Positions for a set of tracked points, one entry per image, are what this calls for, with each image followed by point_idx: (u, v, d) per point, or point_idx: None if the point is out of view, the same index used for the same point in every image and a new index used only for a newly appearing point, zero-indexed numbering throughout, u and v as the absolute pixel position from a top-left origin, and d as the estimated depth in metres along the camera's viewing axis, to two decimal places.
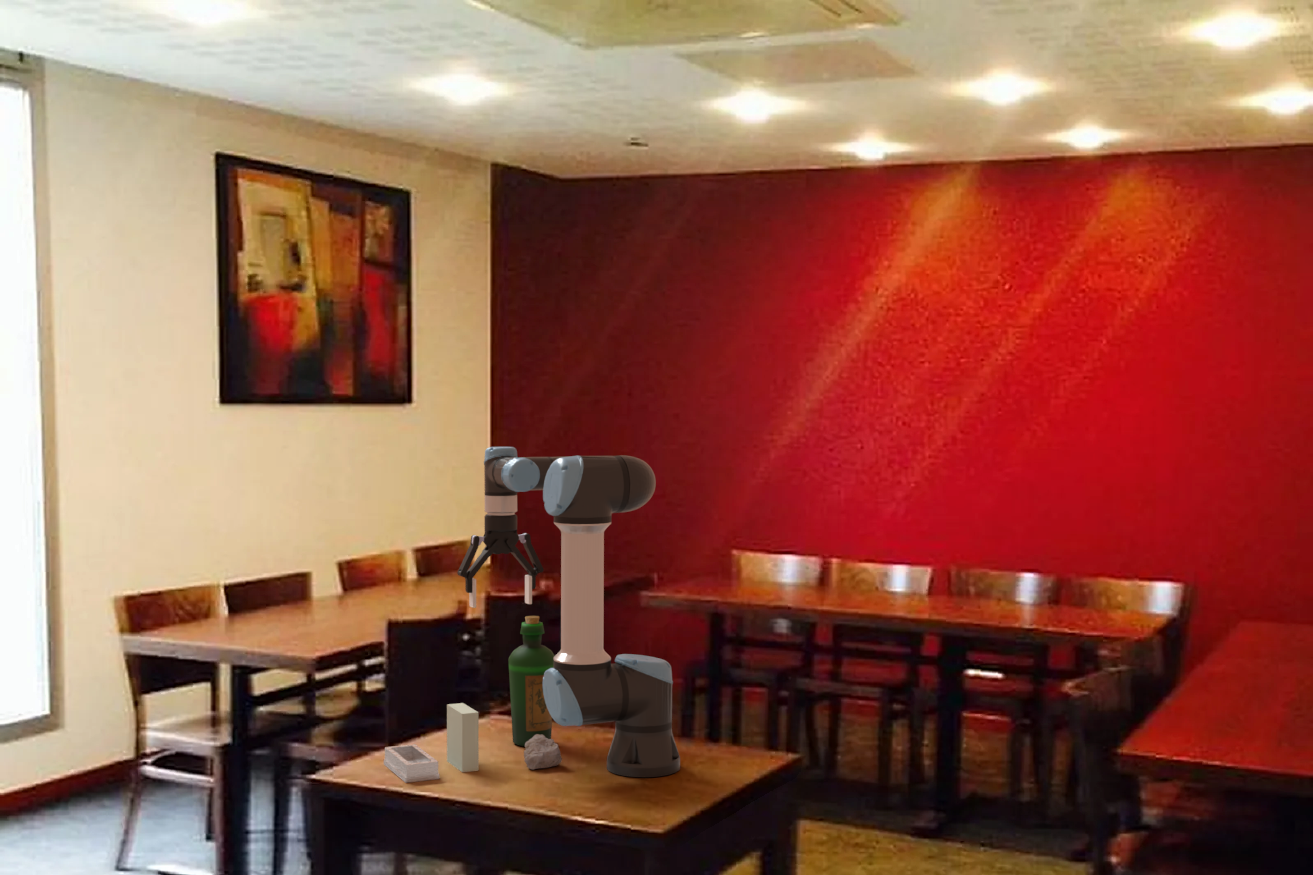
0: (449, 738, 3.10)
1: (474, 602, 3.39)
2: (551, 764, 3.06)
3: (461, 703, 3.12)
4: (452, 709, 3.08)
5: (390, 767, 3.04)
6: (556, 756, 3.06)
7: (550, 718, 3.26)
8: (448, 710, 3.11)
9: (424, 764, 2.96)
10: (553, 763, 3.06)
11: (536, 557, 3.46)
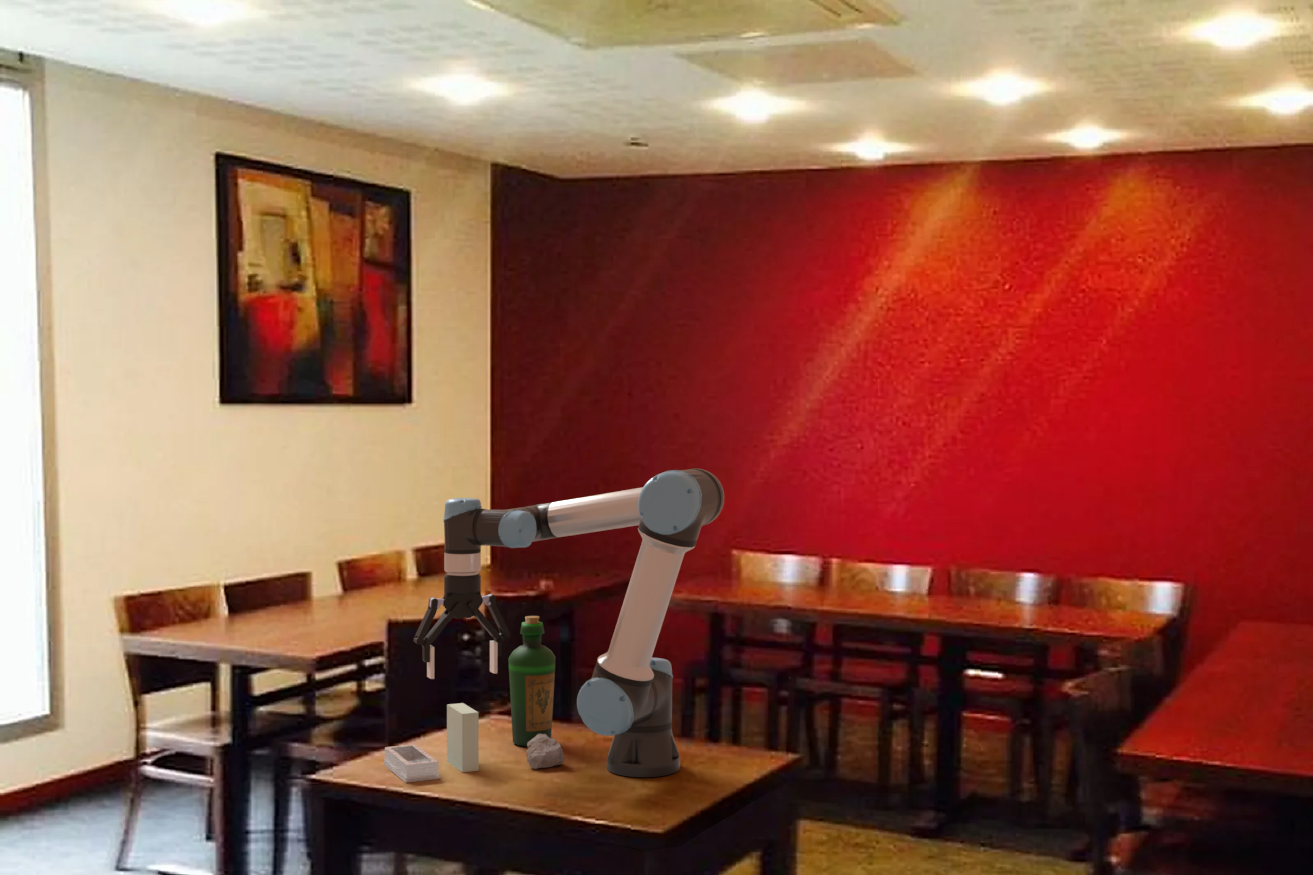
0: (449, 738, 3.10)
1: (432, 673, 3.03)
2: (553, 763, 3.07)
3: (461, 703, 3.12)
4: (452, 709, 3.08)
5: (390, 767, 3.04)
6: (558, 756, 3.06)
7: (550, 718, 3.26)
8: (448, 710, 3.11)
9: (424, 764, 2.96)
10: (555, 762, 3.07)
11: (502, 621, 3.10)
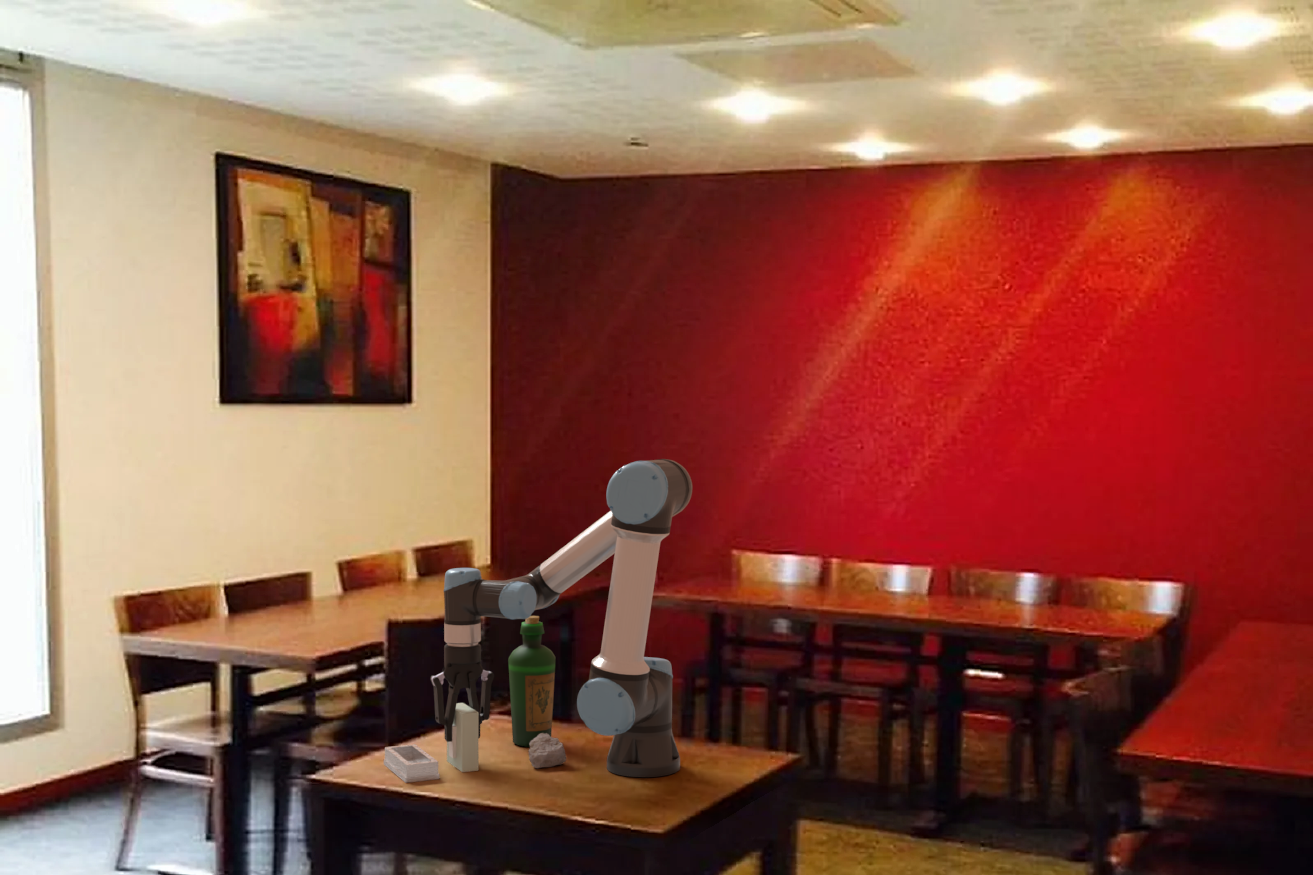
0: None
1: (454, 752, 3.06)
2: (556, 763, 3.07)
3: (461, 703, 3.12)
4: None
5: (390, 767, 3.04)
6: (560, 755, 3.07)
7: (550, 718, 3.26)
8: None
9: (424, 764, 2.96)
10: (558, 762, 3.07)
11: (488, 701, 3.09)
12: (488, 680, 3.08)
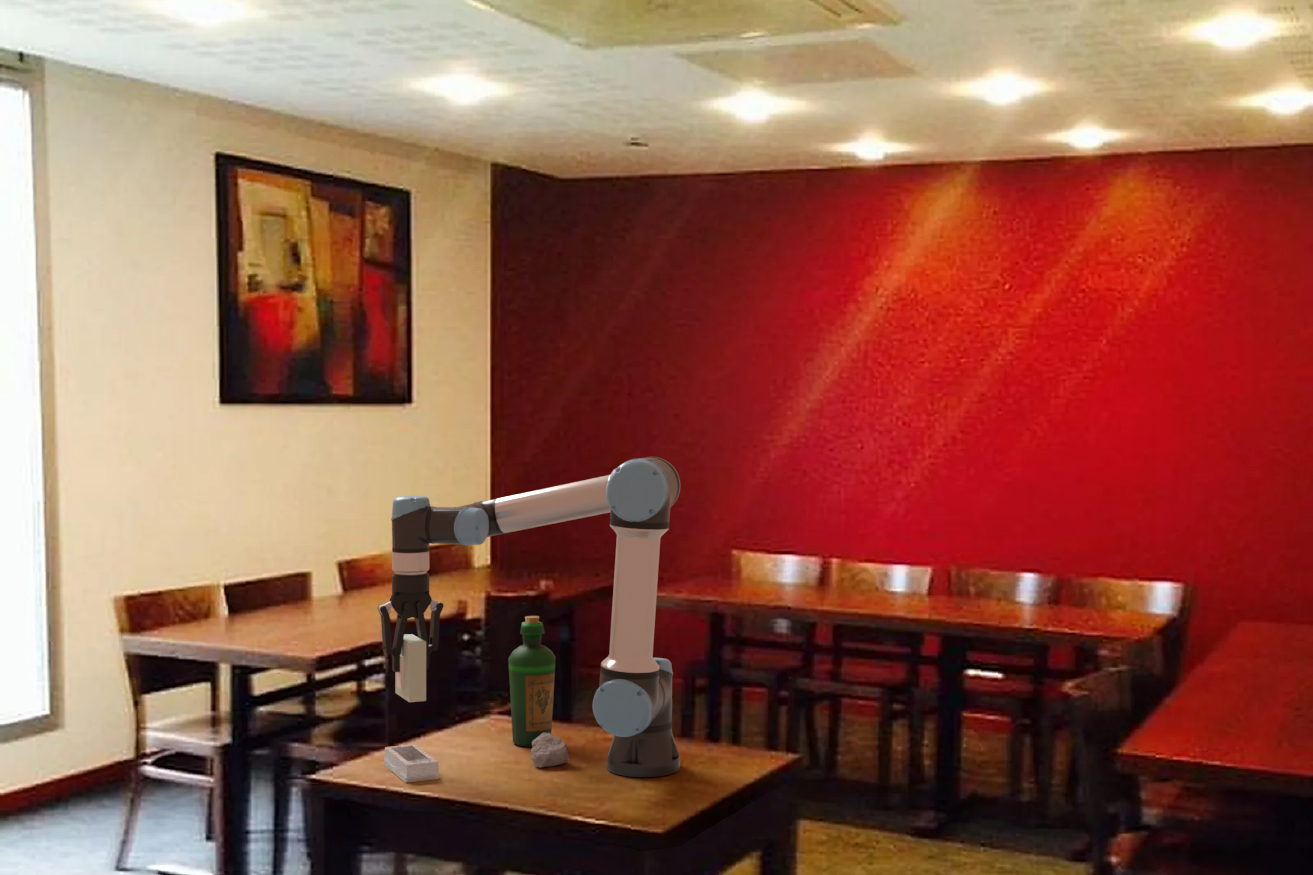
0: None
1: (402, 683, 3.00)
2: (558, 762, 3.08)
3: (410, 634, 3.07)
4: None
5: (390, 767, 3.04)
6: (563, 755, 3.07)
7: (550, 718, 3.26)
8: None
9: (424, 764, 2.96)
10: (560, 761, 3.08)
11: (437, 632, 3.03)
12: (437, 610, 3.03)
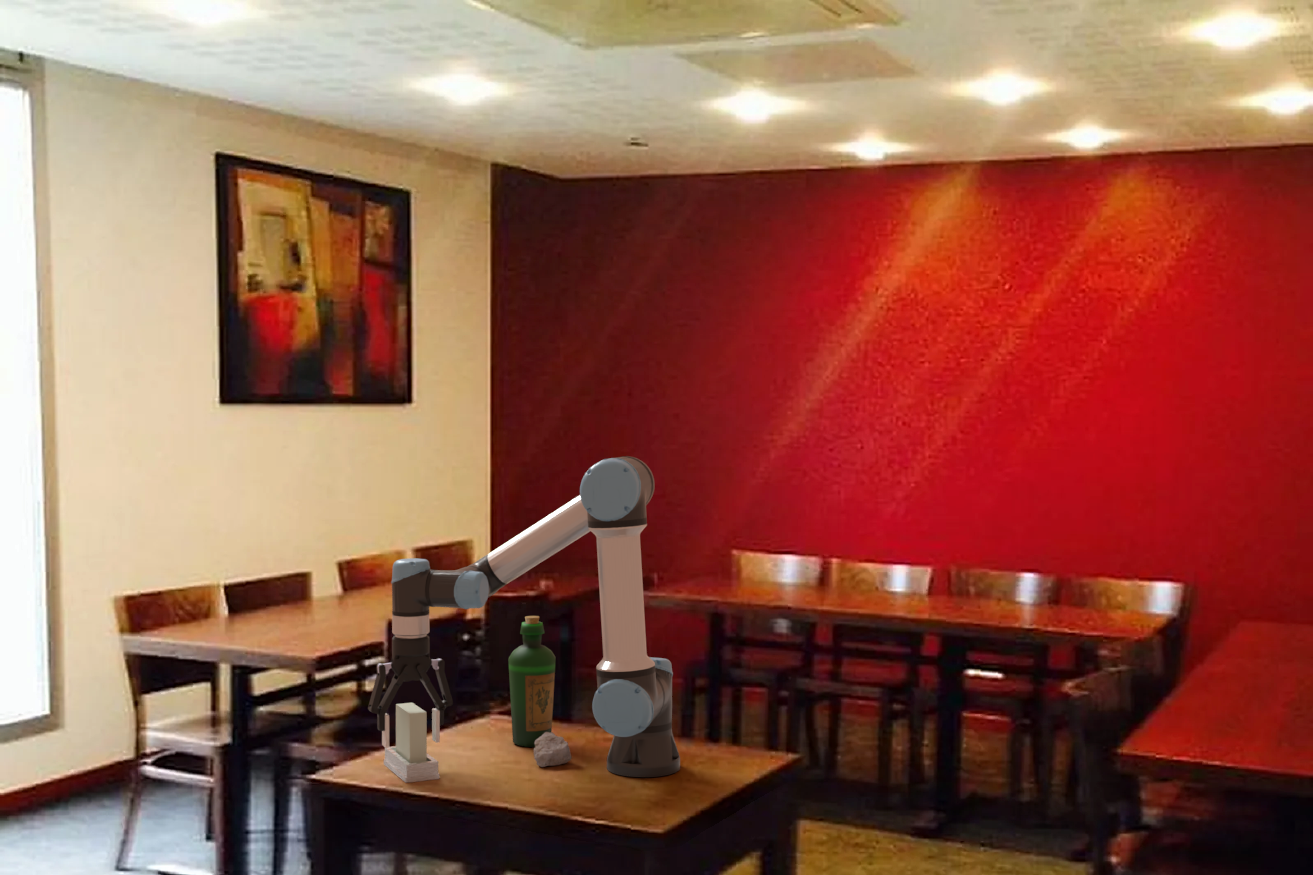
0: (398, 738, 3.05)
1: (387, 741, 2.99)
2: (561, 762, 3.08)
3: (410, 703, 3.07)
4: (400, 709, 3.03)
5: (390, 767, 3.04)
6: (565, 754, 3.08)
7: (550, 718, 3.26)
8: (396, 710, 3.06)
9: (424, 764, 2.96)
10: (563, 761, 3.08)
11: (447, 688, 3.05)
12: (440, 668, 3.04)
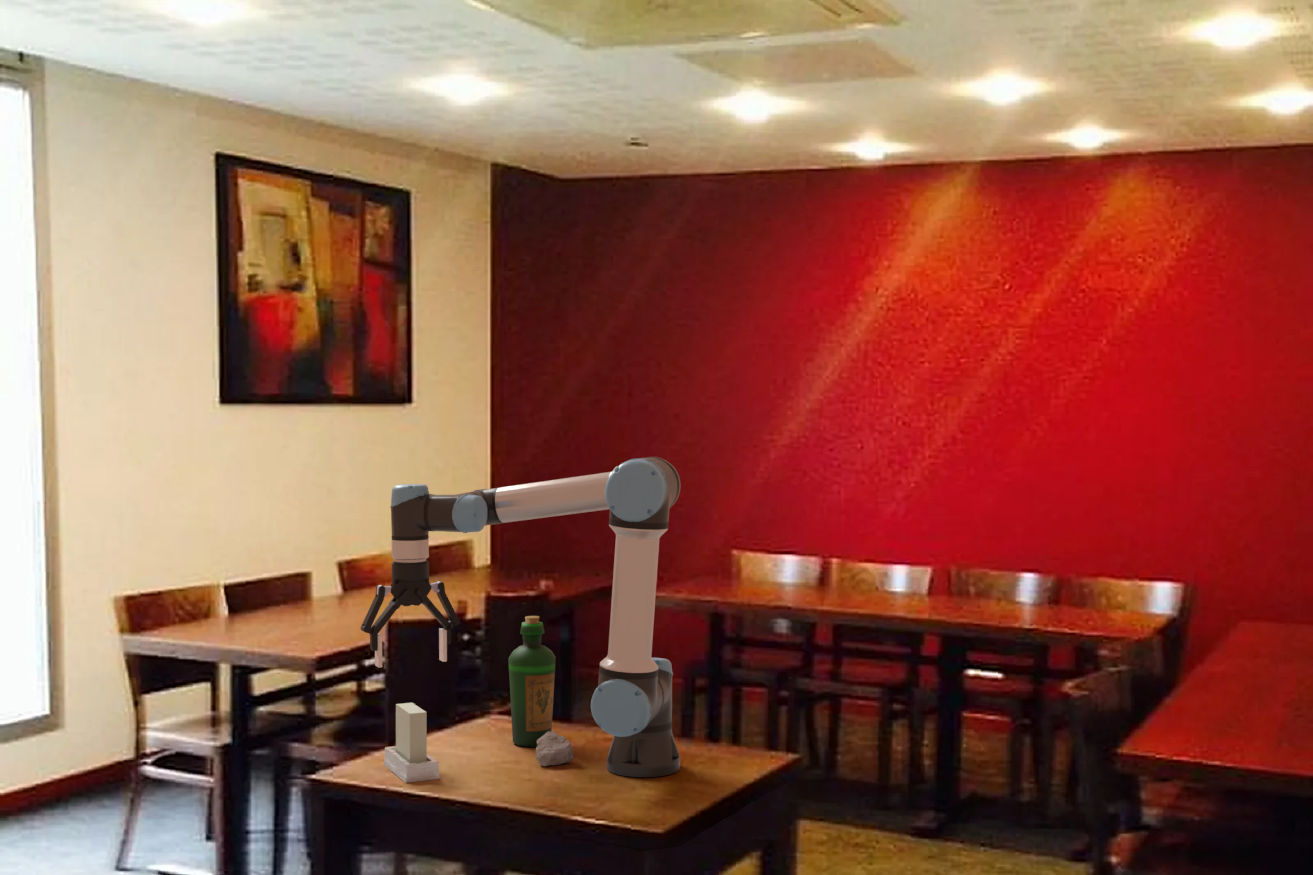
0: (398, 738, 3.05)
1: (380, 661, 2.99)
2: (563, 761, 3.09)
3: (410, 703, 3.07)
4: (400, 709, 3.03)
5: (390, 767, 3.04)
6: (568, 753, 3.08)
7: (550, 718, 3.26)
8: (396, 710, 3.06)
9: (424, 764, 2.96)
10: (565, 760, 3.09)
11: (451, 608, 3.06)
12: (440, 590, 3.04)
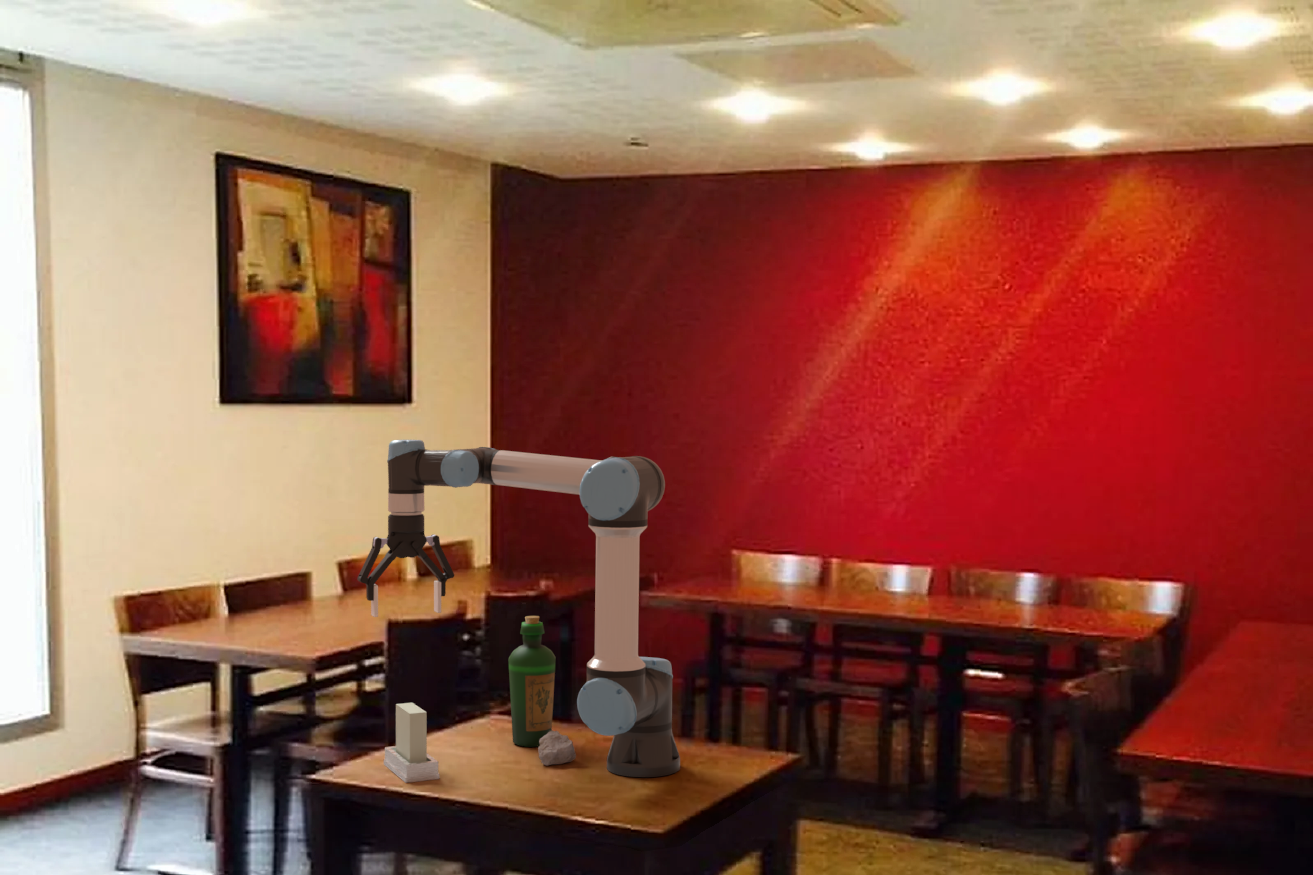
0: (398, 738, 3.05)
1: (376, 611, 3.08)
2: (565, 760, 3.09)
3: (410, 703, 3.07)
4: (400, 709, 3.03)
5: (390, 767, 3.04)
6: (570, 753, 3.09)
7: (550, 718, 3.26)
8: (396, 710, 3.06)
9: (424, 764, 2.96)
10: (567, 759, 3.09)
11: (446, 561, 3.14)
12: (435, 543, 3.13)
